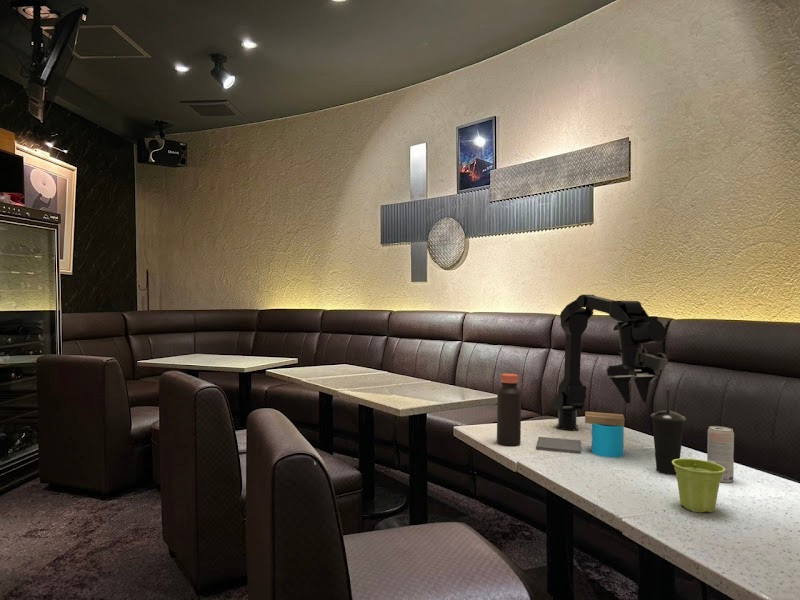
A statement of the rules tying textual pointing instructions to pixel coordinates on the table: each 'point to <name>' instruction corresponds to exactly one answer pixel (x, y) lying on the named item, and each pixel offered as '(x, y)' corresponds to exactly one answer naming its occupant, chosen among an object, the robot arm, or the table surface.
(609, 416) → the walnut lid
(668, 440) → the drinking cup
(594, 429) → the blue cup
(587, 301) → the robot arm
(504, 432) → the bottle
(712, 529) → the table surface
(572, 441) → the rubber mat
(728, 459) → the energy drink
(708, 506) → the plant pot
